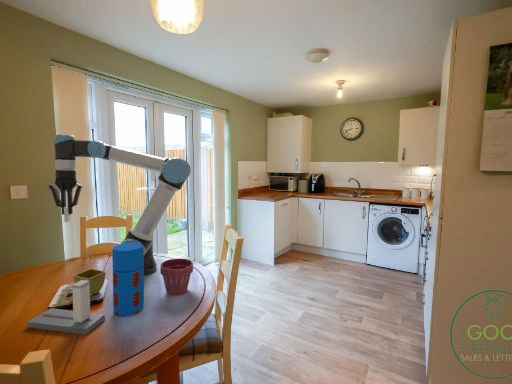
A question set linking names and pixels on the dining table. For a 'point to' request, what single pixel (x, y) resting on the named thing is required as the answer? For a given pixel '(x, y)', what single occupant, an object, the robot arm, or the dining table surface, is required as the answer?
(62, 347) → the dining table surface
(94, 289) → the flower pot
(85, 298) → the fader tab
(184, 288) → the plant pot
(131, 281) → the thermos
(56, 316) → the console
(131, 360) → the dining table surface
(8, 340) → the dining table surface
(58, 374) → the dining table surface
